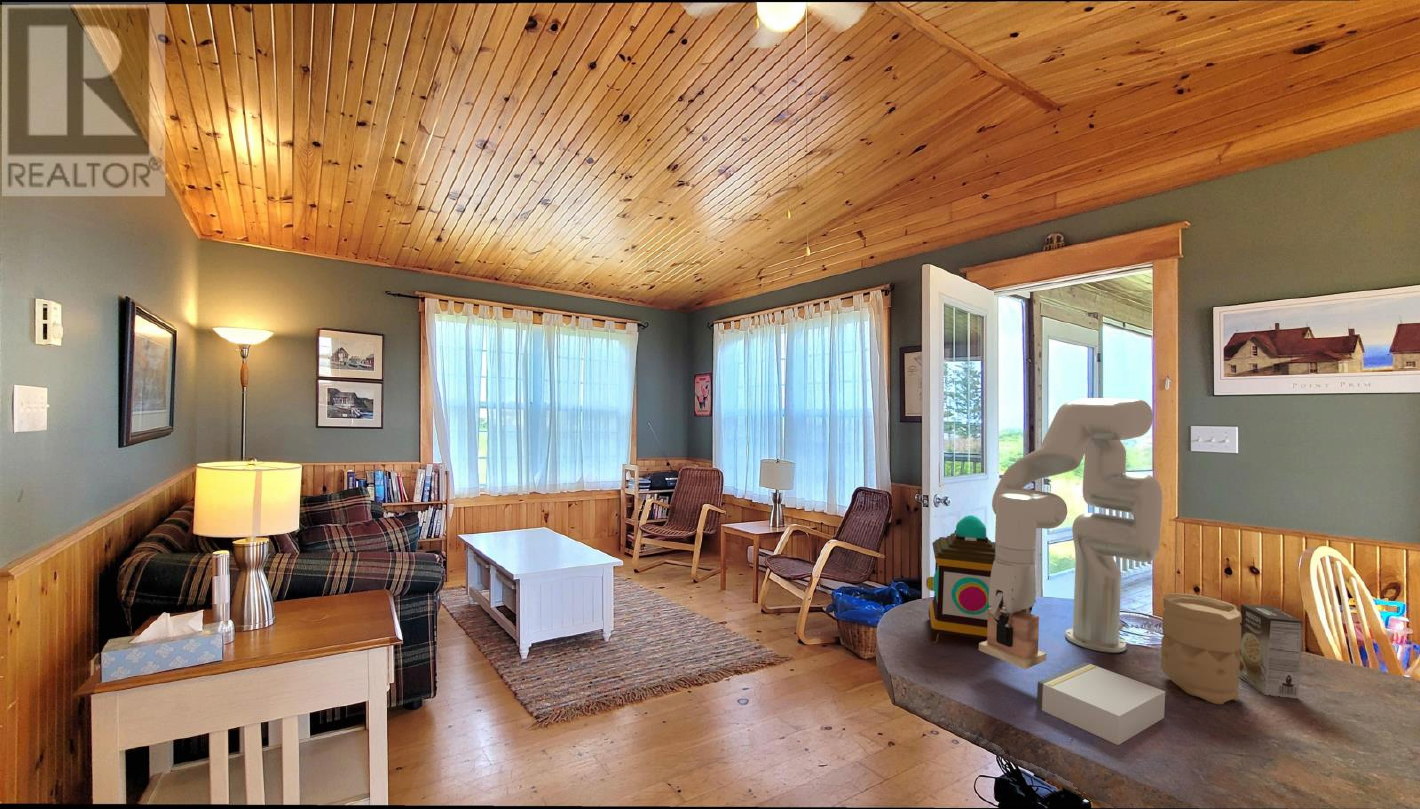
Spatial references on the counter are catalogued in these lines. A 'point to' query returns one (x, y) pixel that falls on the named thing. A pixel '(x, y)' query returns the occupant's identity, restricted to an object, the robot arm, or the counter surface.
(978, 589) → the decorative lantern
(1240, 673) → the coffee box
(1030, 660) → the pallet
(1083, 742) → the counter surface
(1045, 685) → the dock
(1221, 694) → the container
